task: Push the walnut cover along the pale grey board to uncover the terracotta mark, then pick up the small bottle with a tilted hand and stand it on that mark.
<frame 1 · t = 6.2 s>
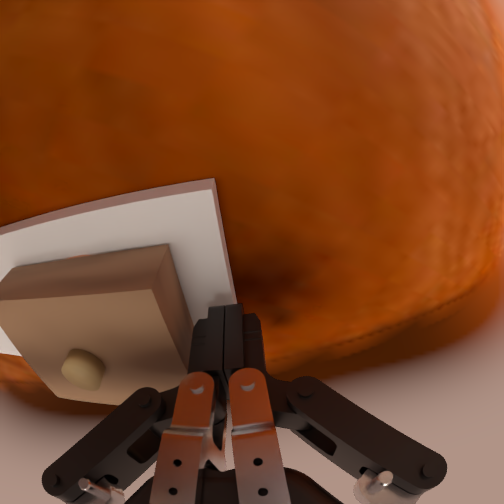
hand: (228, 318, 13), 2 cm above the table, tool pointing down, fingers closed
board: (43, 292, 15), on the table
cover: (92, 347, 12), point 4 cm above the table, slide at 0.2 cm, touching gripper
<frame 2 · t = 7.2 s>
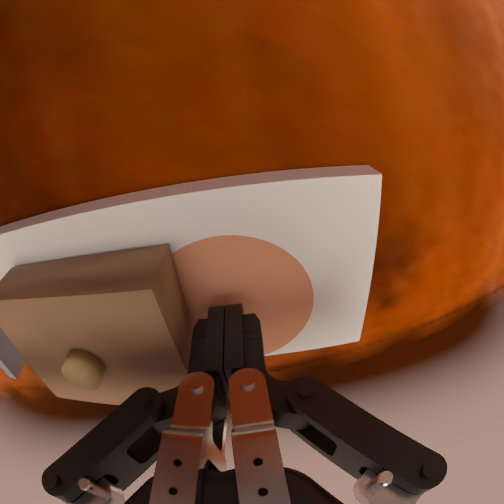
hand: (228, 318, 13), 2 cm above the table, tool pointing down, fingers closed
board: (130, 284, 15), on the table
cover: (92, 347, 12), point 4 cm above the table, slide at 7.1 cm, touching gripper
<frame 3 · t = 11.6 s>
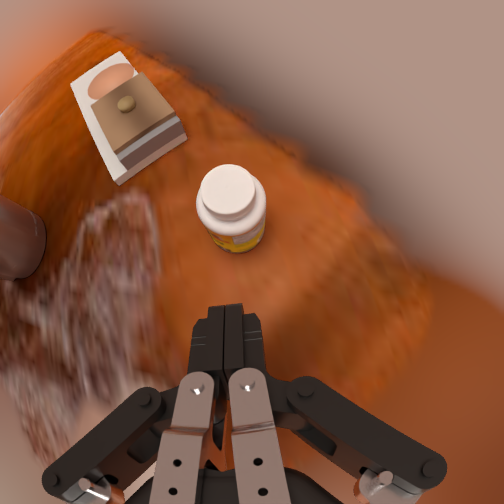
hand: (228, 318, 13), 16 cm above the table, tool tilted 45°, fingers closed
board: (118, 107, 35), on the table
cover: (130, 111, 30), point 4 cm above the table, slide at 12.0 cm, touching board
supplement bottle: (237, 229, 30), on the table
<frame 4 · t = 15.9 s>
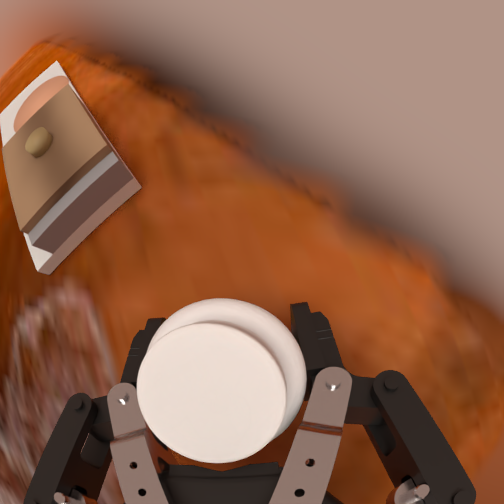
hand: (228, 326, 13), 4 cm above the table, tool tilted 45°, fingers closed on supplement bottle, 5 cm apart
board: (49, 141, 21), on the table
cover: (49, 152, 16), point 4 cm above the table, slide at 12.0 cm, touching board
supplement bottle: (241, 354, 17), on the table, touching gripper
when the fingers open (8 cm above the table, at t = 22.4 s): supplement bottle drops 2 cm, resting on board.
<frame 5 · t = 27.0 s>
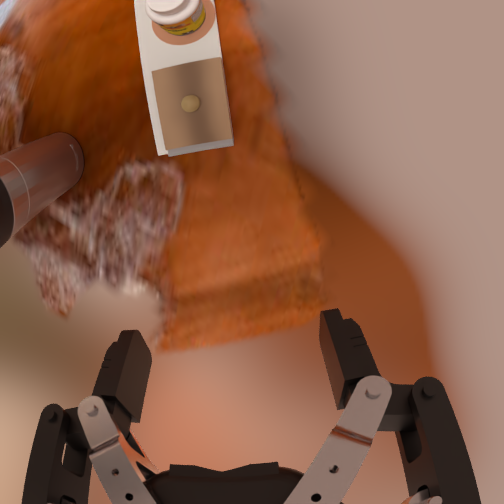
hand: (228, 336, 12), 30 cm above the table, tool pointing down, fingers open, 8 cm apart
board: (182, 57, 30), on the table
cover: (192, 103, 30), point 4 cm above the table, slide at 12.0 cm, touching board
supplement bottle: (184, 18, 26), point 1 cm above the table, touching board
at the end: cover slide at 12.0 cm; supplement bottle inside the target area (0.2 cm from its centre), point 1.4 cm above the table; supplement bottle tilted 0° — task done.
